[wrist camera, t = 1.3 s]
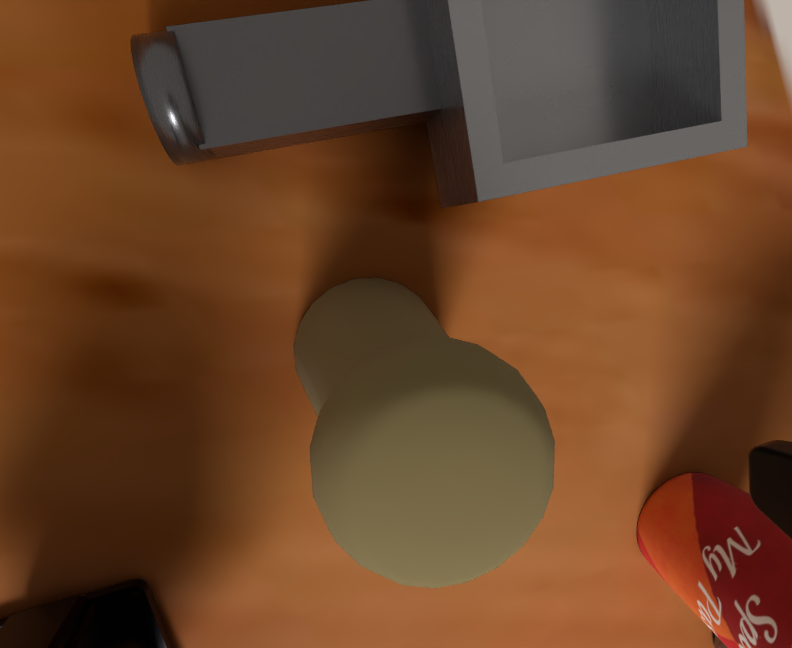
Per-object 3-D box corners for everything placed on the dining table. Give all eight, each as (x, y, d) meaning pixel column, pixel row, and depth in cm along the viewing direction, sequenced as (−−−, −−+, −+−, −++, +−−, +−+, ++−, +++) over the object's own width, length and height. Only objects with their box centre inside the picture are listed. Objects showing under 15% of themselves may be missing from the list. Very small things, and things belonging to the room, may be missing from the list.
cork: (263, 327, 18) (212, 462, 7) (397, 248, 18) (530, 271, 8) (342, 447, 20) (394, 700, 9) (464, 372, 20) (649, 529, 9)
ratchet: (646, 166, 21) (747, 146, 16) (213, 254, 18) (182, 262, 13) (627, -92, 19) (739, -203, 14) (128, -39, 16) (55, -156, 11)
